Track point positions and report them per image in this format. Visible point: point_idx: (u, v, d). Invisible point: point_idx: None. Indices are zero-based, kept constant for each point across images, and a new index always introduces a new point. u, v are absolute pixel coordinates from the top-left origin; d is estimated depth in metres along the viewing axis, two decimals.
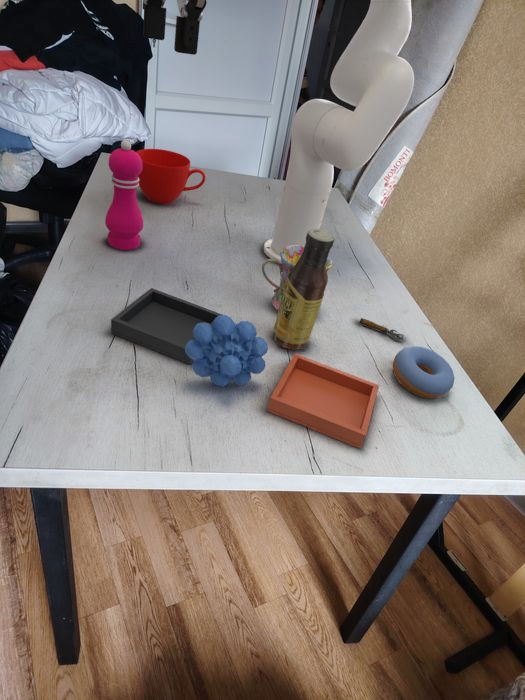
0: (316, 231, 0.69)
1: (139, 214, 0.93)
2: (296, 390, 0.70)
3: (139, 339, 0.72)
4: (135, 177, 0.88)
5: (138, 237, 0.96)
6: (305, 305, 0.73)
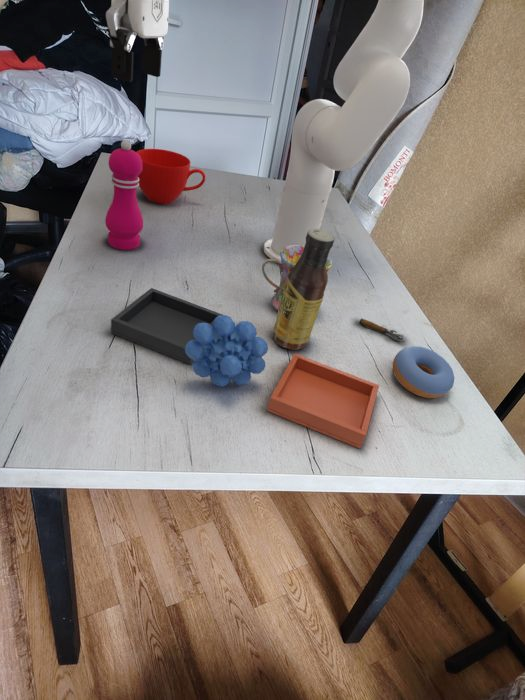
0: (316, 231, 0.69)
1: (139, 214, 0.93)
2: (296, 390, 0.70)
3: (139, 339, 0.72)
4: (135, 177, 0.88)
5: (138, 237, 0.96)
6: (305, 305, 0.73)
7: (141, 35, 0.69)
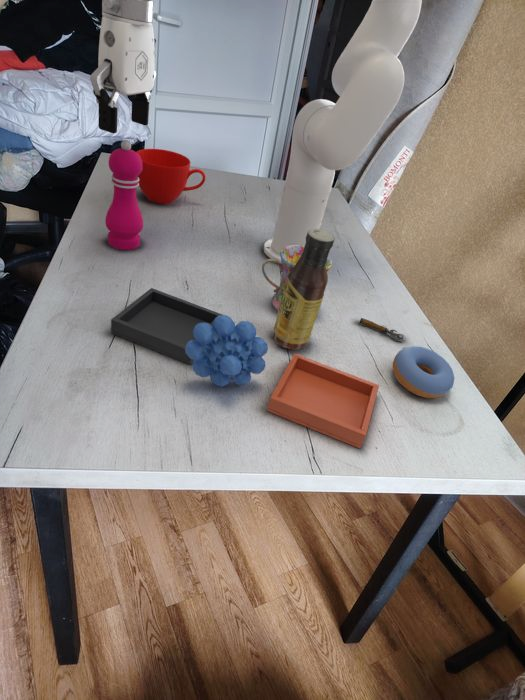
0: (316, 231, 0.69)
1: (139, 214, 0.93)
2: (296, 390, 0.70)
3: (139, 339, 0.72)
4: (135, 177, 0.88)
5: (138, 237, 0.96)
6: (305, 305, 0.73)
7: (124, 93, 0.76)
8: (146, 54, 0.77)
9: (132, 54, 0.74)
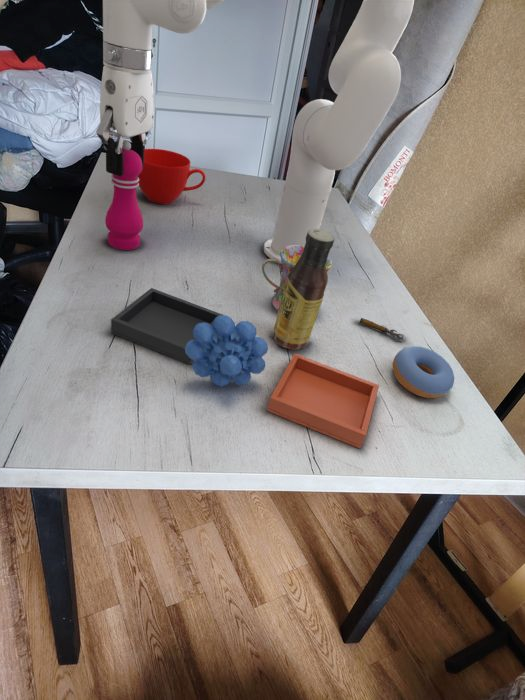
0: (316, 231, 0.69)
1: (139, 214, 0.93)
2: (296, 390, 0.70)
3: (139, 339, 0.72)
4: (135, 177, 0.88)
5: (138, 237, 0.96)
6: (305, 305, 0.73)
7: (125, 136, 0.80)
8: (145, 98, 0.81)
9: (132, 100, 0.78)
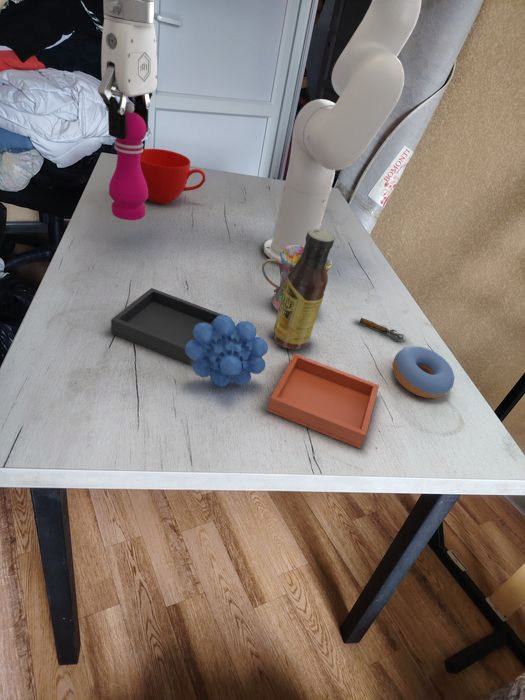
0: (316, 231, 0.69)
1: (144, 182, 0.89)
2: (296, 390, 0.70)
3: (139, 339, 0.72)
4: (139, 141, 0.84)
5: (143, 207, 0.93)
6: (305, 305, 0.73)
7: (128, 95, 0.77)
8: (148, 55, 0.78)
9: (135, 55, 0.74)
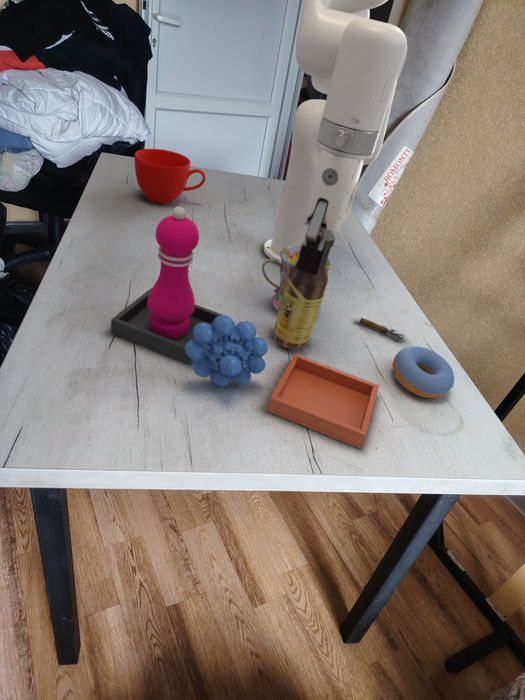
0: None
1: (191, 294, 0.72)
2: (296, 390, 0.70)
3: (139, 339, 0.72)
4: (189, 252, 0.68)
5: (188, 320, 0.76)
6: (306, 305, 0.73)
7: (334, 233, 0.64)
8: (356, 183, 0.65)
9: (350, 190, 0.62)
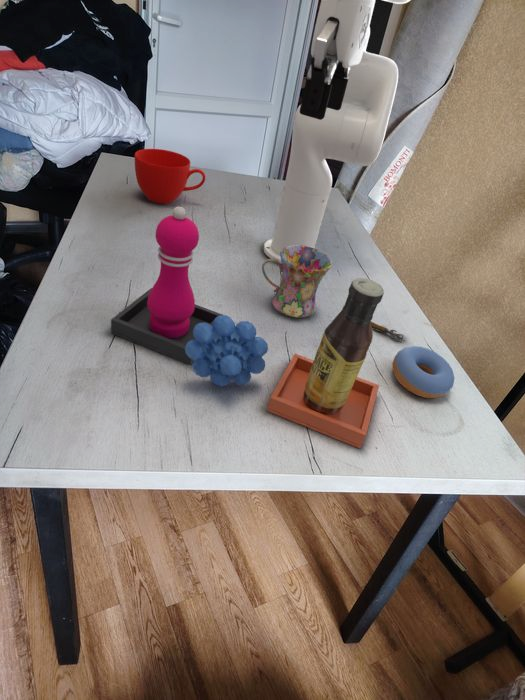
0: (361, 282, 0.58)
1: (191, 294, 0.72)
2: (296, 390, 0.70)
3: (139, 339, 0.72)
4: (189, 252, 0.68)
5: (188, 320, 0.76)
6: (346, 367, 0.61)
7: (345, 65, 0.57)
8: (370, 13, 0.58)
9: (364, 10, 0.55)
